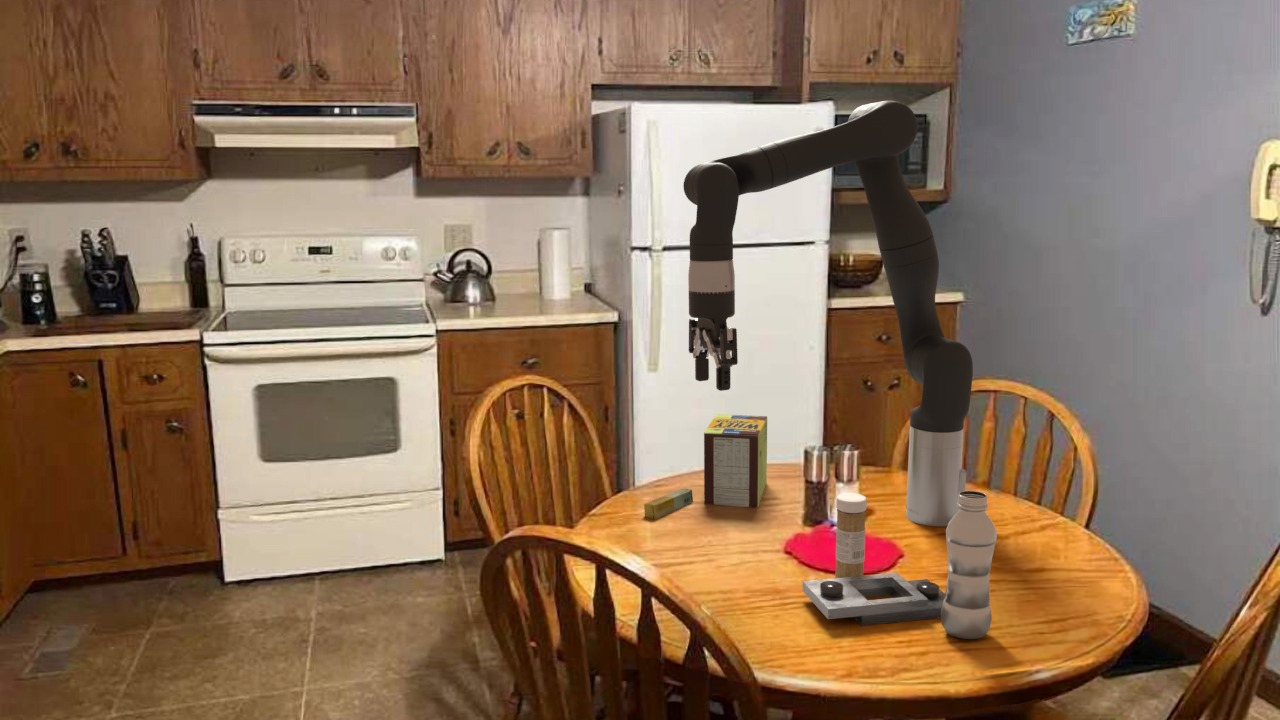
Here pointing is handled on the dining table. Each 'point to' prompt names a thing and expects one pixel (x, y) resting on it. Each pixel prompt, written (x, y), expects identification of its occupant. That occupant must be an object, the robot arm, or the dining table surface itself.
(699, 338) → the robot arm
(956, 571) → the plastic bottle
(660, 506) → the medication box
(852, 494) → the sprinkles bottle
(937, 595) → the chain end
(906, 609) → the grey slotted fixture plate
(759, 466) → the protein box
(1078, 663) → the dining table surface
